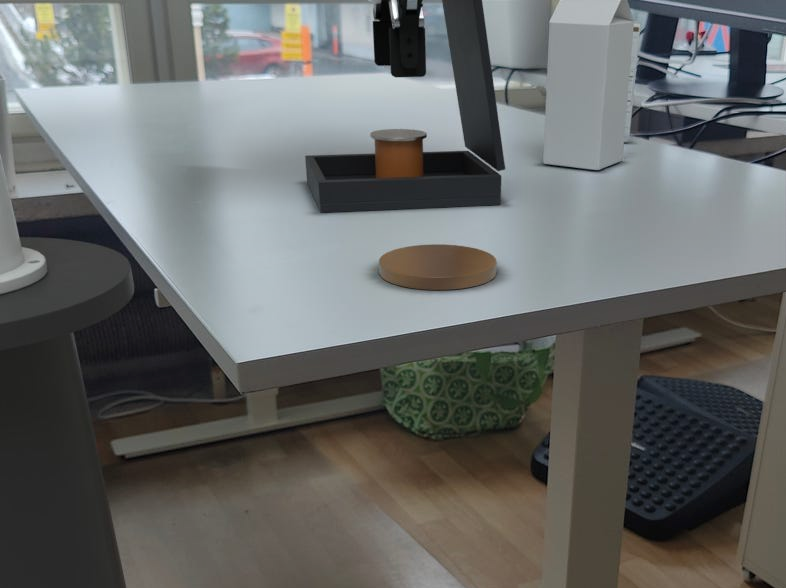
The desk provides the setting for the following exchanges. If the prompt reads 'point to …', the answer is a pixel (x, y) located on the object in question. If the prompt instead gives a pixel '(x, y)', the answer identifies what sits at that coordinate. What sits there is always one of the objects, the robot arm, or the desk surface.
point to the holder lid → (474, 79)
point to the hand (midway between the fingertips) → (399, 70)
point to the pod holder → (401, 183)
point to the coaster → (437, 267)
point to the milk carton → (587, 83)
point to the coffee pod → (398, 152)
